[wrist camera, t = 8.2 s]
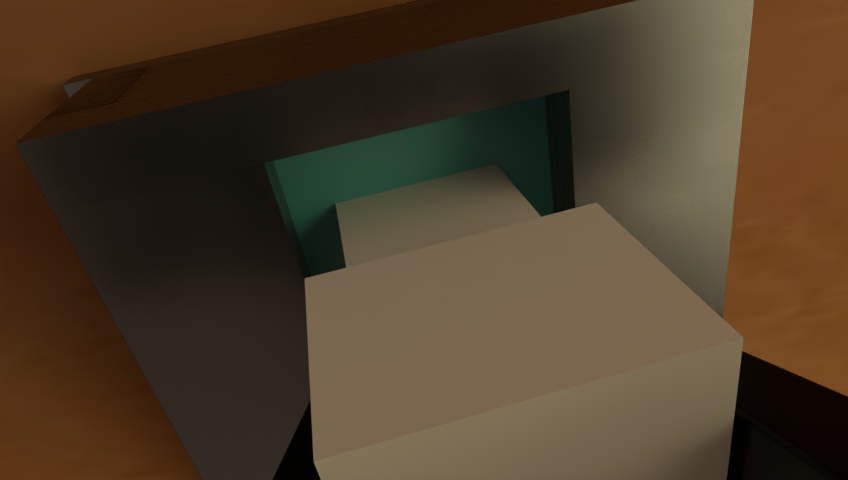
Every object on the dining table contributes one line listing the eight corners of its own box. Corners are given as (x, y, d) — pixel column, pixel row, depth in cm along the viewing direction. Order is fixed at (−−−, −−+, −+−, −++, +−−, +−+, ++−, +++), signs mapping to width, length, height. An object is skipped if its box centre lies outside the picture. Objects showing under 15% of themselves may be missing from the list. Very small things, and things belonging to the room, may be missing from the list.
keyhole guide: (637, 515, 21) (707, 634, 17) (327, 611, 20) (336, 757, 16) (642, -50, 12) (788, -35, 8) (73, 77, 11) (-28, 152, 7)
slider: (561, 301, 14) (777, 603, 8) (316, 368, 14) (342, 747, 8) (543, 49, 11) (862, 216, 5) (229, 123, 11) (148, 412, 5)
